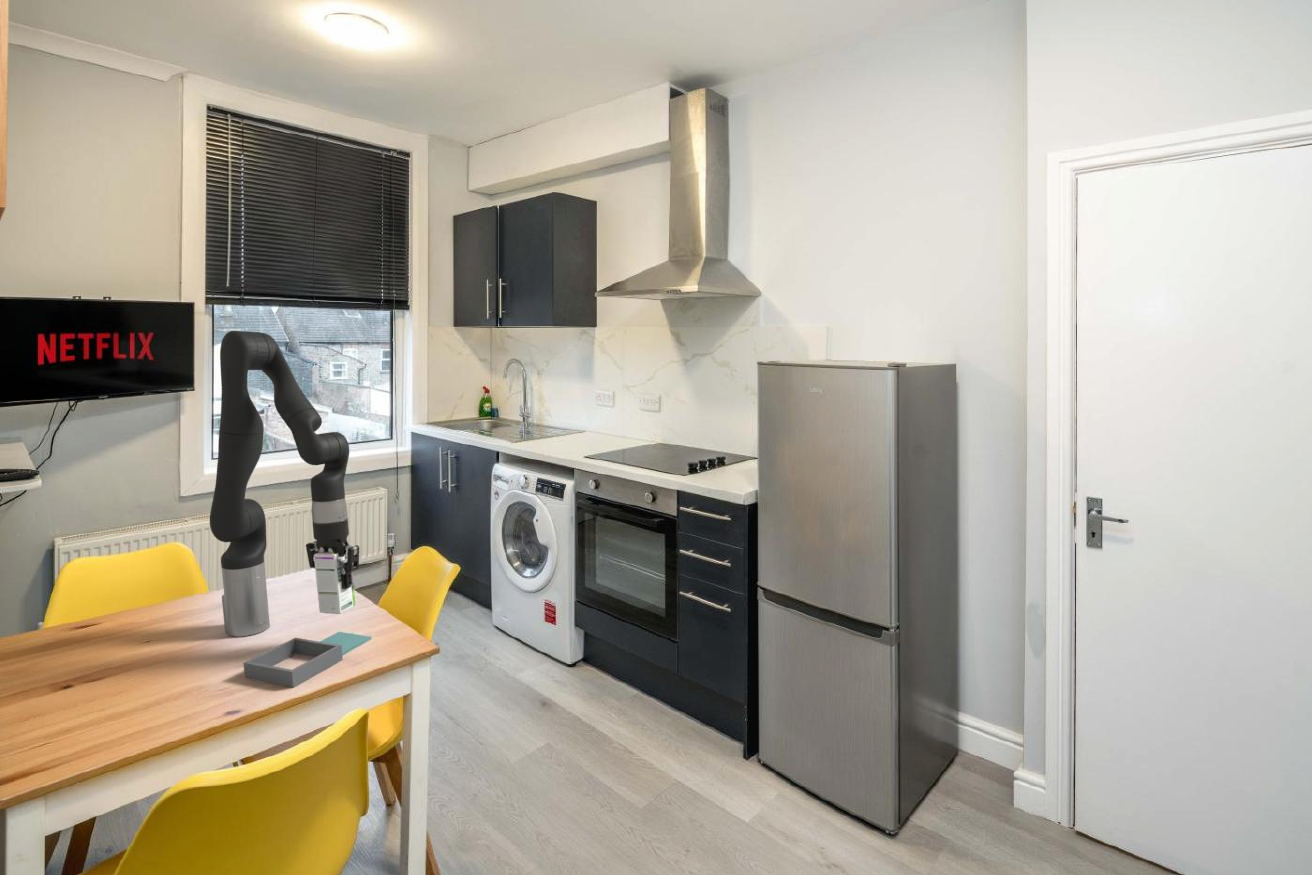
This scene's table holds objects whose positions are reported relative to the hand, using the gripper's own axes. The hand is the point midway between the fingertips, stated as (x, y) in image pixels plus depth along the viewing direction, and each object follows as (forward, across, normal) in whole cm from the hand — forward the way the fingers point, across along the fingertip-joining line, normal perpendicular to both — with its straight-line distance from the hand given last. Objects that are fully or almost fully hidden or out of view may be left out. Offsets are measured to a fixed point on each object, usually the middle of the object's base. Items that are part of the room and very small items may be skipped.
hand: (335, 586), depth 162 cm
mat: (+14, 0, 0) cm, 14 cm away
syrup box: (+6, 0, 0) cm, 6 cm away
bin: (+14, 0, -13) cm, 19 cm away
